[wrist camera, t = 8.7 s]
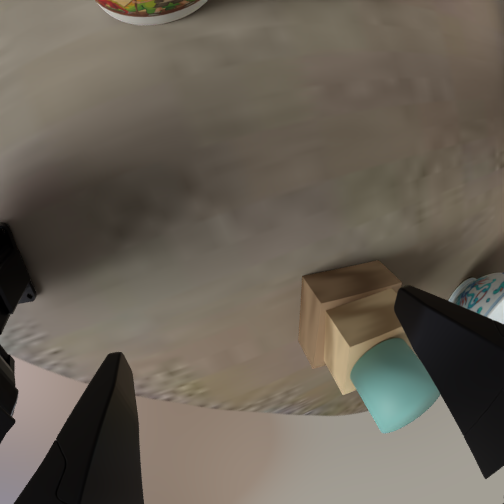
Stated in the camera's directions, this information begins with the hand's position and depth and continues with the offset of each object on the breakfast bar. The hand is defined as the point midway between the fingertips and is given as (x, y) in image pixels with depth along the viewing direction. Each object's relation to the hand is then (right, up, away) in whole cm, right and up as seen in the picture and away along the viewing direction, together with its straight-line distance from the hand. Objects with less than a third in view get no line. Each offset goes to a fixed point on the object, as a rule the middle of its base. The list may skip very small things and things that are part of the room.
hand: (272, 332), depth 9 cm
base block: (+7, -2, +19) cm, 20 cm away
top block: (+8, -4, +16) cm, 18 cm away
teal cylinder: (+9, -6, +12) cm, 16 cm away
